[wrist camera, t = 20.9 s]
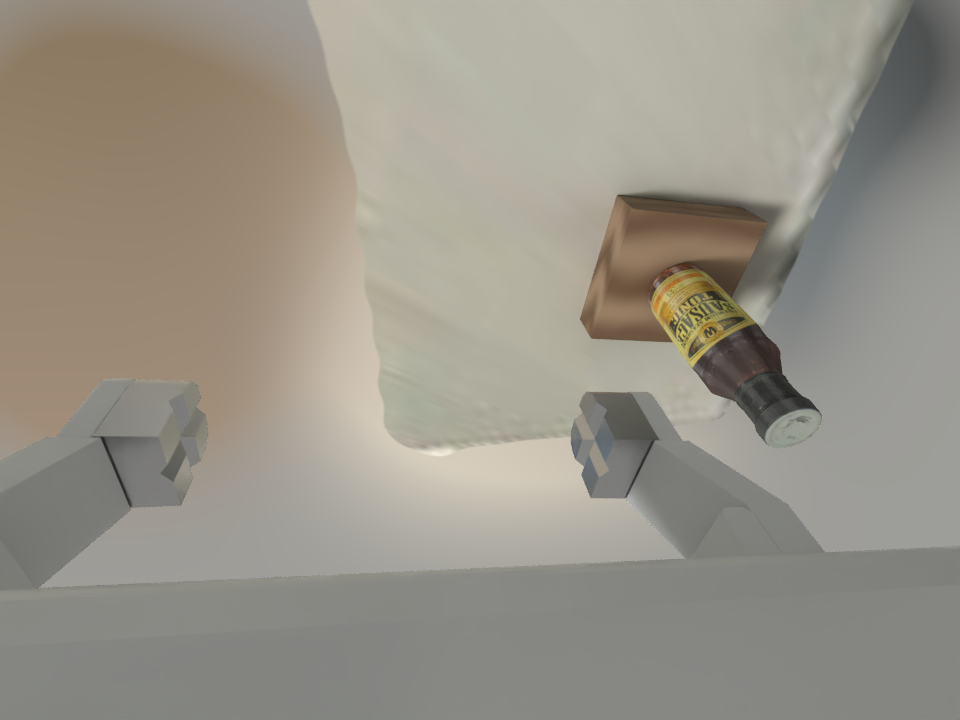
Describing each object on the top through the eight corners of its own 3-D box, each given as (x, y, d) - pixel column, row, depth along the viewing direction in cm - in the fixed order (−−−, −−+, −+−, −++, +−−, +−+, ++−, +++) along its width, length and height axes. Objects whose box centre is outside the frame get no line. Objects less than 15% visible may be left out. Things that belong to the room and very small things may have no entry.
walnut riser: (617, 195, 47) (633, 209, 44) (744, 208, 50) (767, 222, 46) (580, 319, 55) (591, 338, 52) (691, 325, 58) (708, 343, 54)
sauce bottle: (684, 248, 47) (830, 374, 31) (714, 286, 50) (860, 418, 34) (629, 293, 49) (739, 433, 33) (661, 327, 52) (775, 469, 36)
